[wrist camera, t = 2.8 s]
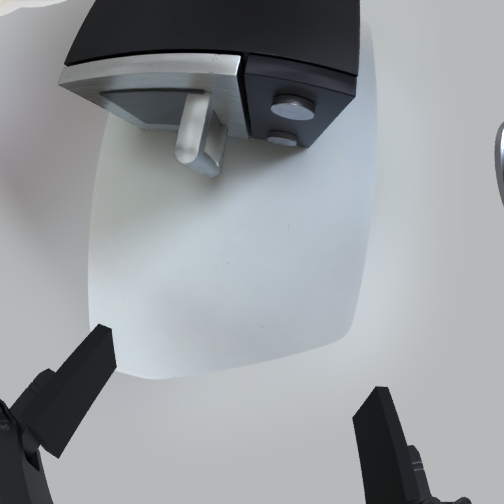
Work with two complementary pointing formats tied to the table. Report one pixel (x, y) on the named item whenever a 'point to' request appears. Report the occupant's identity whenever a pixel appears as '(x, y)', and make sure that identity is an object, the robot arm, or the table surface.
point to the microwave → (246, 52)
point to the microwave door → (172, 99)
